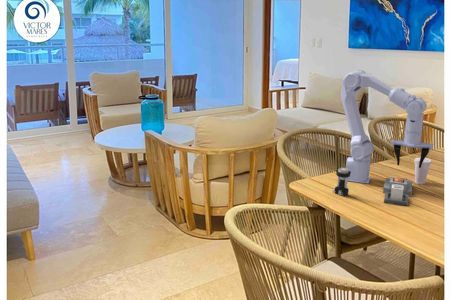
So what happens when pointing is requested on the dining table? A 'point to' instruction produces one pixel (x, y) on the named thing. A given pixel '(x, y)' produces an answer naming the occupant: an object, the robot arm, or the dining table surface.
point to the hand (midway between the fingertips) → (408, 165)
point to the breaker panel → (406, 184)
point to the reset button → (398, 180)
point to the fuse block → (396, 192)
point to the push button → (342, 182)
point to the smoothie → (421, 170)
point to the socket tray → (396, 202)
